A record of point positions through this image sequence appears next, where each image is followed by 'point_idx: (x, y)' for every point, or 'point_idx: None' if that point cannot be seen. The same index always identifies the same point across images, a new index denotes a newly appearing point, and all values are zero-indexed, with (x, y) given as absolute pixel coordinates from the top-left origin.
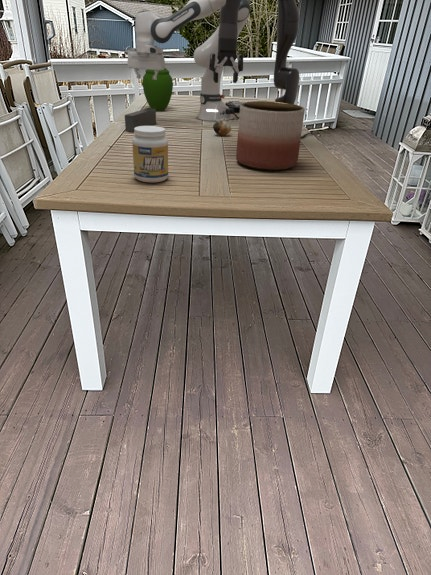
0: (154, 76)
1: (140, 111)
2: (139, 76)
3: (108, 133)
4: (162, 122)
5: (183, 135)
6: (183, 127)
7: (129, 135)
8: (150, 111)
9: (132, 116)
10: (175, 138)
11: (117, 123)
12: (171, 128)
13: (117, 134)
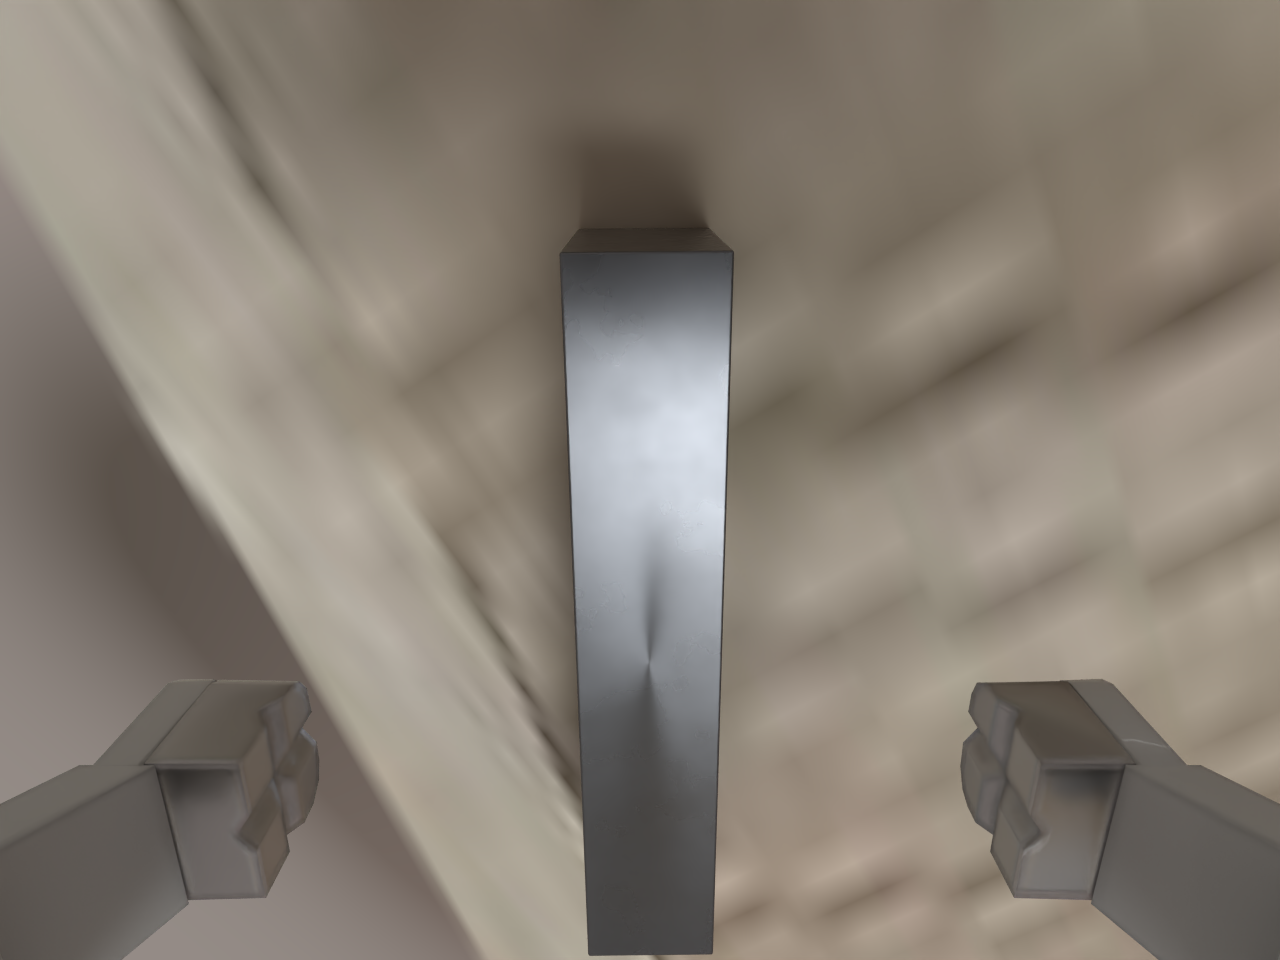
0: (1107, 891)
1: (633, 649)
2: (280, 802)
3: (501, 937)
4: (736, 23)
5: (1261, 663)
6: (1172, 222)
7: (722, 913)
8: (725, 469)
9: (706, 947)
10: None
11: (228, 488)
12: (1021, 387)
13: None
